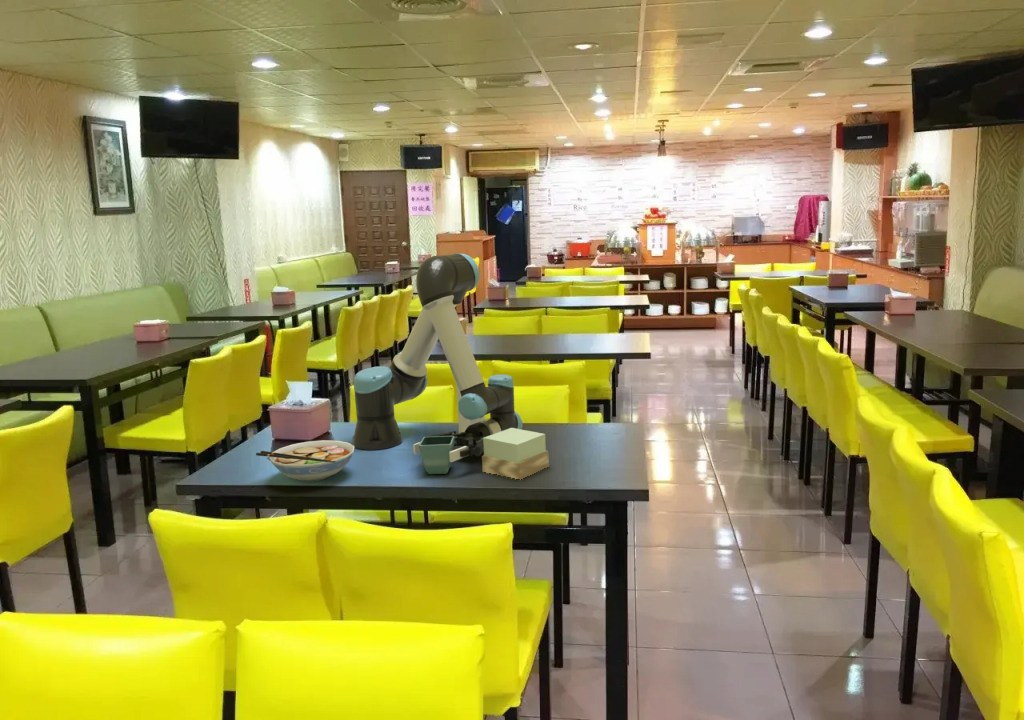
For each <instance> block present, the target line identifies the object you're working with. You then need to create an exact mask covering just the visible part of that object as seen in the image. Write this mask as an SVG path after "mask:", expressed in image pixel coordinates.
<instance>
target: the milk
mask: <svg viewBox="0 0 1024 720" xmlns="http://www.w3.org/2000/svg"><path fill="white" fill-rule="evenodd" d="M455 383H456V382H455ZM455 386H456V401H457V403H456V404H457V407H458V403H459V400H460V398H461V397H462V396H461V394H460V391H459V389H458V386H457V383H456V384H455ZM457 419H458V420H457V421H458V422H457V423H458V433H461V432H465V430H466V428H467V427H468V426H469V425H472V424H475V423H478V422H480V421H483V420H485V416H483V417H481V418H477V419H473V420H469V419H466V418H464V417H463V416H462V415H461V413H460V412H459V409H458V408H457Z"/></svg>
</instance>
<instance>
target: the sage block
mask: <svg viewBox="0 0 1024 720" xmlns="http://www.w3.org/2000/svg"><path fill="white" fill-rule="evenodd" d="M483 444H484V451H483V455H484V456H488V457H493V458H497V459H502V460H506V461H511V462H515V463H519V462H522V461H524V460H527V459H529V458H532V457H534V456H536V455H539V454H541V453H544V452H546V450H547V447H546V434H545V433H541V432H537V431H532V430H525V429H516V428H509V429H507V430H504V431H501V432H498V433H495V434H493V435H490V436H487V437H484V438H483Z"/></svg>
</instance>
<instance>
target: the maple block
mask: <svg viewBox="0 0 1024 720" xmlns="http://www.w3.org/2000/svg"><path fill="white" fill-rule="evenodd" d="M549 459H550V458H549V450H547V449H546V452H544V453H541V454H539V455H536V456H534V457H532V458H529V459H527V460H524V461H522V462H519V463H515V462H511V461H506V460H502V459H497V458H493V457H488V456H484V454H483V455H481V461H482V462H481V464H482V467H481V468H482V473H484V472H486V473H485V474H489V473H491V474H490V475H493V474H497V475H496V476H498V475H501V476H500V477H503V476H506V477H505V478H507V477H511V478H510V479H512V478H515V479H514V480H516V479H520V480H519V481H522V480H524V479H523V478H525V477H527V476H529V477H531V476H533V475H535V474H537V473H539V472H541V471H543V470H542V469H544V468H546V469H547V467H548V468H549V467H550V460H549ZM540 470H541V471H540ZM544 470H545V469H544ZM538 471H539V472H538ZM536 472H537V473H536ZM534 473H535V474H534ZM532 474H533V475H532ZM530 475H531V476H530ZM527 478H528V477H527ZM521 479H522V480H521ZM525 479H526V478H525Z"/></svg>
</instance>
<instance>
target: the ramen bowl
mask: <svg viewBox="0 0 1024 720" xmlns="http://www.w3.org/2000/svg"><path fill="white" fill-rule="evenodd" d="M354 451H355V446H353V443H352V444H351V443H350V442H346V441H342V440H330V439H329V440H328V439H327V440H325V439H324V440H323V439H322V440H309V441H304V442H303V441H302V442H298V443H293V444H290V445H286V446H284V447H280V448H278V449H276V450H274V451H266V450H260V452H256V453H255V456H256V457H257V456H259V457H260V456H261V457H268V459H269V461H270V462H271V464H273V466H274V467H275V469H277V470H278V472H280V473H281V474H283V475H284V476H285V477H288V478H291V479H294V480H299V481H302V482H306V481H307V482H309V483H310V482H312V481H314V482H319V481H323V480H326V479H327V478H329V477H330V476H333V475H335V474H337V473H338V472H340V471H341V470H343V469H344V468H345V467H346V466H347V465H348V463H349V462H350V460H351V458H352V457H353V454H354ZM312 483H313V482H312Z"/></svg>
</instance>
